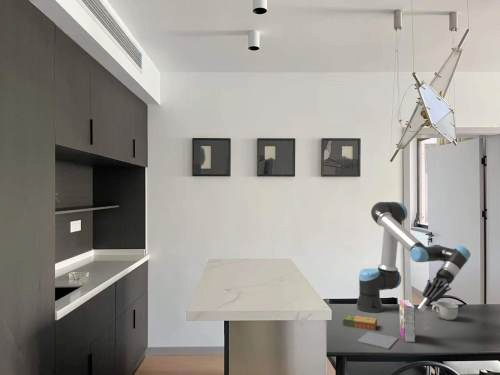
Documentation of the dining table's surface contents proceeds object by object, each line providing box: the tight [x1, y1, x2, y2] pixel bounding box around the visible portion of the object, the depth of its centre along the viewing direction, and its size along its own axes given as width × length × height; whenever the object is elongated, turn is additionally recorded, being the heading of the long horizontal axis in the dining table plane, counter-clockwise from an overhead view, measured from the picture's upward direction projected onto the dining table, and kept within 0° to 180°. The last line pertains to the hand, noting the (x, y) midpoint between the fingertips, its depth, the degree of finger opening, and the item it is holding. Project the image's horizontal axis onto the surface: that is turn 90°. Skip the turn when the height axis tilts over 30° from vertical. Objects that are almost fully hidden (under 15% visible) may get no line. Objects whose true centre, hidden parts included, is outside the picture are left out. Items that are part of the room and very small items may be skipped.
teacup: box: [431, 300, 459, 321], centre depth 204 cm, size 14×11×8 cm
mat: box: [356, 331, 399, 350], centre depth 170 cm, size 15×14×1 cm
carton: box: [342, 314, 378, 331], centre depth 190 cm, size 8×16×4 cm, turn 65°
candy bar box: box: [398, 299, 416, 343], centre depth 174 cm, size 11×5×16 cm, turn 168°
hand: (420, 310), depth 175 cm, fingers closed
